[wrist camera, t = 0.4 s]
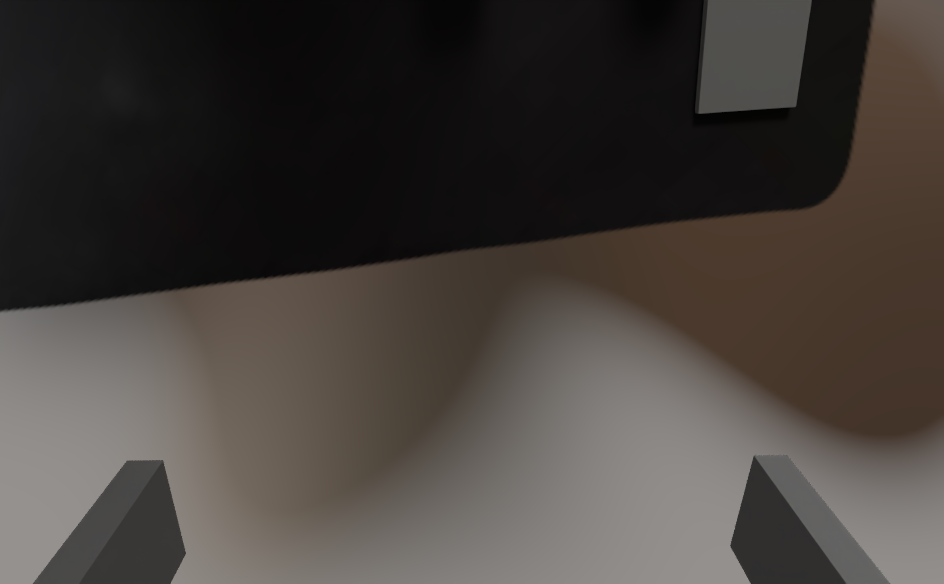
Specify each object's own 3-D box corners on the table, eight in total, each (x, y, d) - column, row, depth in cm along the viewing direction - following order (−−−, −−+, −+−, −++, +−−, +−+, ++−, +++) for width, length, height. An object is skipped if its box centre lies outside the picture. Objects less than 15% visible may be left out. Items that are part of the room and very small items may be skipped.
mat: (710, -75, 32) (714, -77, 32) (817, -82, 32) (824, -85, 32) (694, 112, 36) (698, 113, 36) (790, 105, 36) (795, 106, 36)
